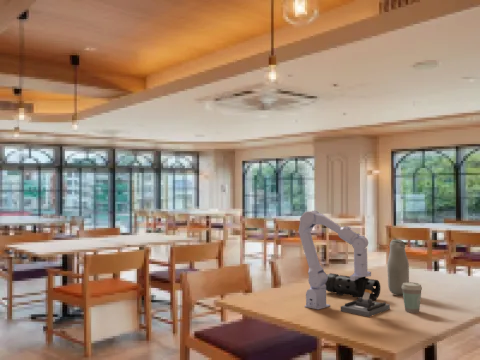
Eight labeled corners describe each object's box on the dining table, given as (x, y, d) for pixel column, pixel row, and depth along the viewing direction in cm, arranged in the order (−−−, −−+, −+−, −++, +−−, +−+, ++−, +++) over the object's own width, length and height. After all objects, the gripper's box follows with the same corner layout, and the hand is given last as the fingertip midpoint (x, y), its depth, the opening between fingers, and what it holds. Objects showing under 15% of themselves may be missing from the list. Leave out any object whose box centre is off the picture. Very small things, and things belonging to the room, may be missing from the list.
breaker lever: (367, 299, 203) (369, 289, 204) (361, 298, 205) (363, 288, 206) (369, 301, 204) (371, 291, 205) (363, 299, 206) (365, 290, 208)
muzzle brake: (372, 302, 217) (371, 281, 218) (321, 294, 236) (321, 274, 236) (381, 299, 225) (380, 277, 225) (331, 291, 243) (330, 271, 243)
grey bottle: (412, 294, 233) (410, 239, 233) (404, 298, 225) (403, 241, 226) (393, 291, 239) (392, 238, 240) (384, 295, 232) (383, 239, 232)
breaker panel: (368, 317, 193) (368, 304, 193) (340, 311, 203) (340, 299, 203) (389, 308, 205) (389, 297, 206) (362, 303, 215) (362, 292, 216)
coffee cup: (420, 315, 195) (420, 286, 195) (399, 312, 200) (399, 284, 200) (424, 310, 202) (423, 283, 203) (404, 307, 207) (403, 281, 207)
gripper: (360, 266, 194) (360, 298, 194) (377, 262, 205) (377, 293, 204) (345, 265, 199) (346, 296, 199) (363, 261, 210) (363, 290, 209)
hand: (361, 294), depth 202 cm, fingers closed
